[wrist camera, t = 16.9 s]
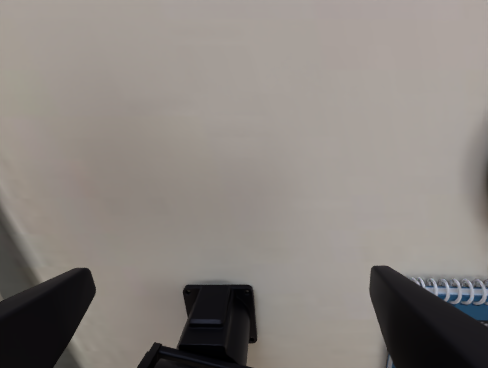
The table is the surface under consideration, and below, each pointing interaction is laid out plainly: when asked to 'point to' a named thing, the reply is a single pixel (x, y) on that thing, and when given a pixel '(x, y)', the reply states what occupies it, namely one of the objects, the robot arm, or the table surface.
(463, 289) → the sketchbook
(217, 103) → the table surface
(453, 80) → the table surface
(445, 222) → the table surface
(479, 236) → the table surface
